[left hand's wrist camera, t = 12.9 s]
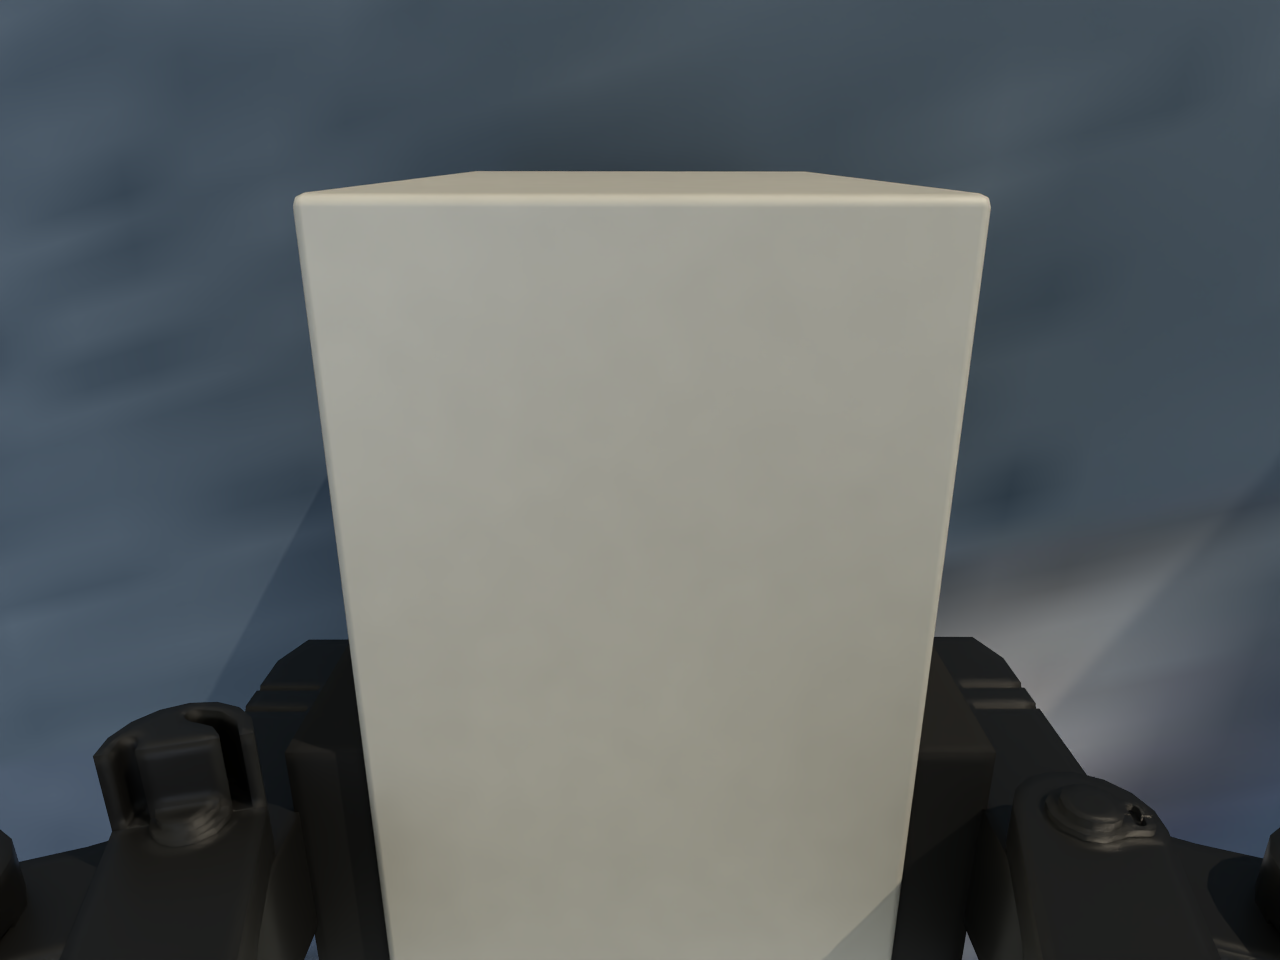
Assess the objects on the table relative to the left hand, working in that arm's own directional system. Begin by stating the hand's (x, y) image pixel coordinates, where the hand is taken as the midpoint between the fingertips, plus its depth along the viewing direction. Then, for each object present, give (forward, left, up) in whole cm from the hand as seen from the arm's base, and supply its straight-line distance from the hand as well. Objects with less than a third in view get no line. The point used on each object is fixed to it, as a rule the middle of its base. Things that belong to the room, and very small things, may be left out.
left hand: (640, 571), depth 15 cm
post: (+6, +19, -1) cm, 20 cm away
